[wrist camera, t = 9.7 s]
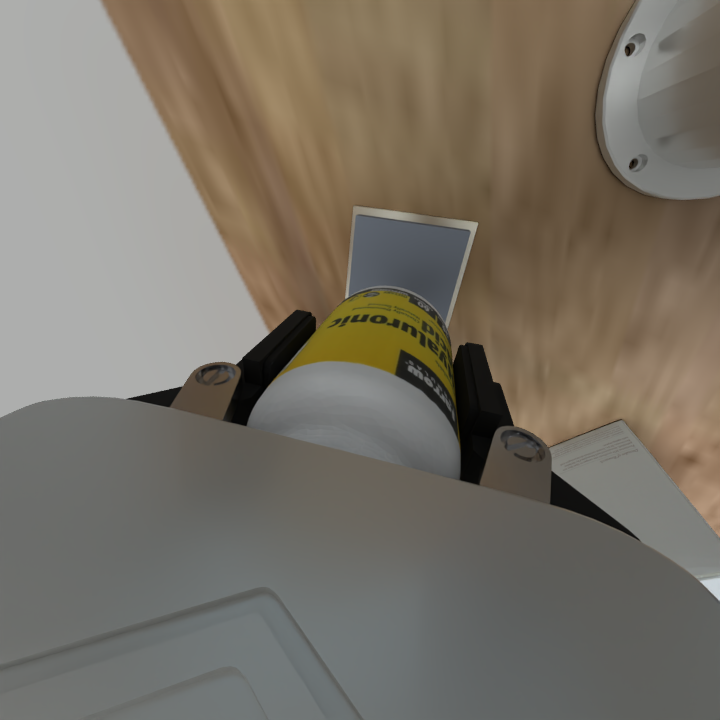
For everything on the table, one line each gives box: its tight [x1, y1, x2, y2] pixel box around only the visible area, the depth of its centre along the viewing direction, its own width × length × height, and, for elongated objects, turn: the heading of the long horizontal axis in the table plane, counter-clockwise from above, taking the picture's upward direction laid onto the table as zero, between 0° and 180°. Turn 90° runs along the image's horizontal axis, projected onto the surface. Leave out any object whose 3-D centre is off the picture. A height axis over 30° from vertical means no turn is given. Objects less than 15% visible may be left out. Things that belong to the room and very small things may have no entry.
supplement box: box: [549, 420, 720, 601], centre depth 24 cm, size 7×7×13 cm
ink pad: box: [348, 214, 471, 322], centre depth 23 cm, size 8×8×1 cm
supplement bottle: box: [247, 286, 461, 480], centre depth 9 cm, size 5×5×10 cm
